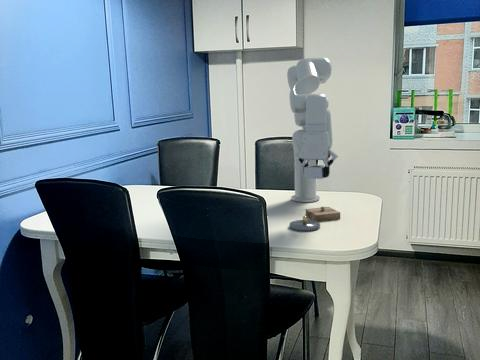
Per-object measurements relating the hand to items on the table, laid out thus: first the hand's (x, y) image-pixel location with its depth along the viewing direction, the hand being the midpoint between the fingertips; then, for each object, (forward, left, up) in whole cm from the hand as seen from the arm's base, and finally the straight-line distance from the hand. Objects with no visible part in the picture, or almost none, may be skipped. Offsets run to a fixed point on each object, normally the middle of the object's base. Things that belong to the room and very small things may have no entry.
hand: (316, 176), depth 179 cm
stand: (-4, +5, -17) cm, 18 cm away
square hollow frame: (0, 0, 0) cm, 0 cm away
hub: (+6, -7, -17) cm, 20 cm away
